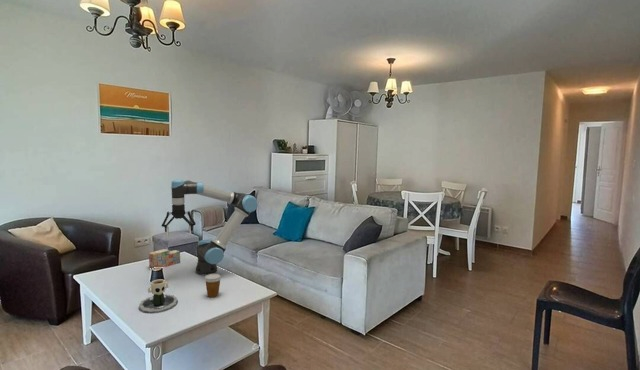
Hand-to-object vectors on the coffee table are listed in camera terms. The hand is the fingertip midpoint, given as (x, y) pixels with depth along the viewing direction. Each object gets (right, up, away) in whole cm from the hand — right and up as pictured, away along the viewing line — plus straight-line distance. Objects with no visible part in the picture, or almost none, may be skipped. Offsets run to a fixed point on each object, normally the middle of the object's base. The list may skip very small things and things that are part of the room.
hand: (179, 236), depth 220 cm
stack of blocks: (-26, -28, +36) cm, 52 cm away
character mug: (0, -34, -27) cm, 44 cm away
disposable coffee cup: (+26, -34, -13) cm, 45 cm away
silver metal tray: (0, -35, -27) cm, 44 cm away
